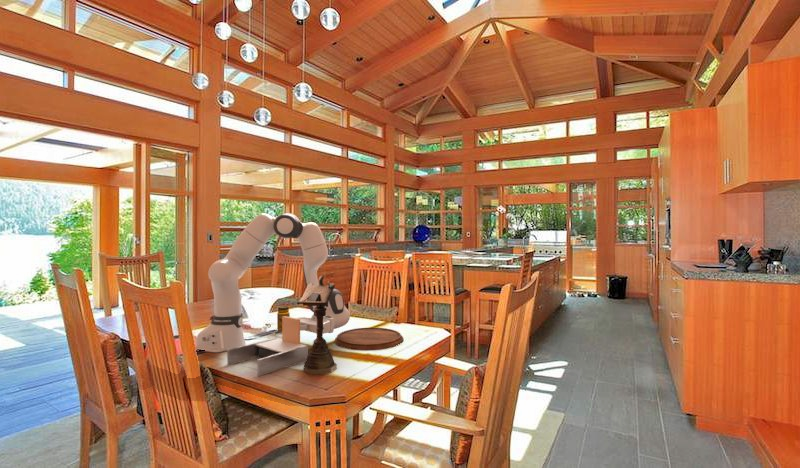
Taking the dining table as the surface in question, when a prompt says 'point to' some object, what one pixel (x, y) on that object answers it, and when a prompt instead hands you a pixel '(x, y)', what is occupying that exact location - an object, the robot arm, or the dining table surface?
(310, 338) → the dining table surface
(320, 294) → the dark ornate pedestal stand
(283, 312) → the condiment
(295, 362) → the grey metal tray
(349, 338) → the cutting board
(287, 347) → the sliding cover
